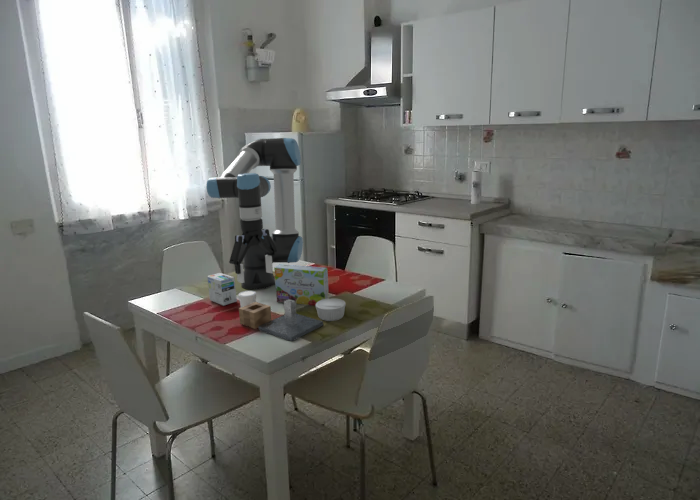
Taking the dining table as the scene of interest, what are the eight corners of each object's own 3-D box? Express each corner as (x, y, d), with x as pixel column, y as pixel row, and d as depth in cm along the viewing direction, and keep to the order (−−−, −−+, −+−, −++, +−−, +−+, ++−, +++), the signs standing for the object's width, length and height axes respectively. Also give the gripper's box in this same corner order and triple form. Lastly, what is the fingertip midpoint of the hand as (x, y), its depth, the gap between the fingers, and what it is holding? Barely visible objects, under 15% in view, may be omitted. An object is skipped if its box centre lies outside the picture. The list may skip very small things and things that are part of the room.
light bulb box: (237, 301, 196) (235, 276, 194) (223, 306, 192) (220, 280, 189) (223, 296, 204) (220, 271, 201) (209, 300, 199) (206, 275, 196)
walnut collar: (255, 328, 169) (253, 313, 167) (240, 323, 174) (238, 308, 172) (271, 321, 175) (270, 306, 173) (256, 316, 180) (255, 301, 178)
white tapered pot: (242, 314, 182) (240, 297, 181) (237, 309, 188) (236, 292, 186) (259, 311, 185) (258, 294, 184) (254, 305, 191) (253, 289, 189)
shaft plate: (258, 330, 168) (256, 303, 165) (290, 315, 180) (289, 290, 177) (291, 341, 158) (290, 313, 156) (323, 325, 170) (322, 298, 168)
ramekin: (322, 324, 171) (321, 310, 170) (311, 314, 181) (311, 301, 180) (350, 319, 175) (350, 305, 174) (339, 309, 185) (338, 296, 184)
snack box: (275, 302, 194) (273, 267, 190) (282, 298, 199) (279, 263, 196) (324, 307, 188) (323, 270, 184) (329, 302, 193) (328, 266, 189)
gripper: (229, 225, 153) (235, 288, 159) (284, 214, 173) (287, 270, 178) (215, 223, 158) (220, 284, 163) (269, 212, 177) (273, 267, 182)
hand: (255, 277), depth 170 cm, fingers open, 13 cm apart
